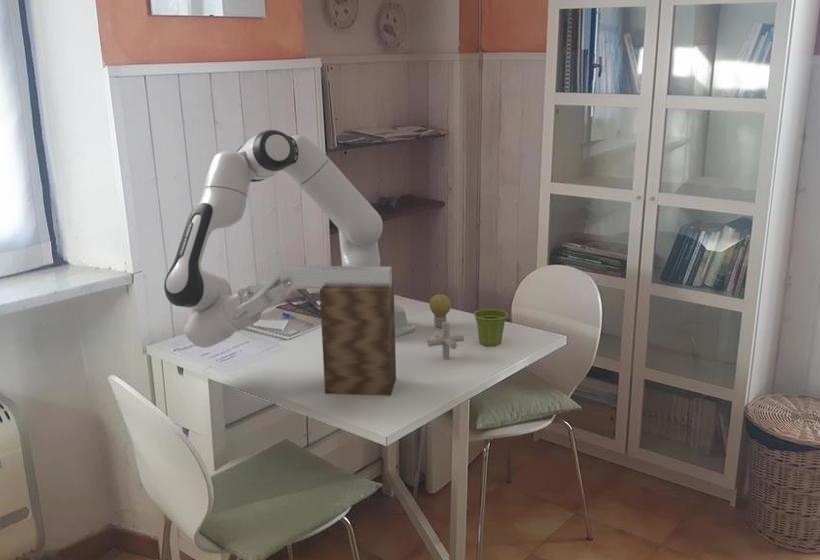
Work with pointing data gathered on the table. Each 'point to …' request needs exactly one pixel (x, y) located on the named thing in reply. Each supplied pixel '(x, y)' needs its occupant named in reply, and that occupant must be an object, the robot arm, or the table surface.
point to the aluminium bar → (336, 276)
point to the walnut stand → (358, 340)
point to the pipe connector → (445, 340)
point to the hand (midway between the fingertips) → (290, 280)
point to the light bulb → (440, 308)
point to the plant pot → (490, 326)
